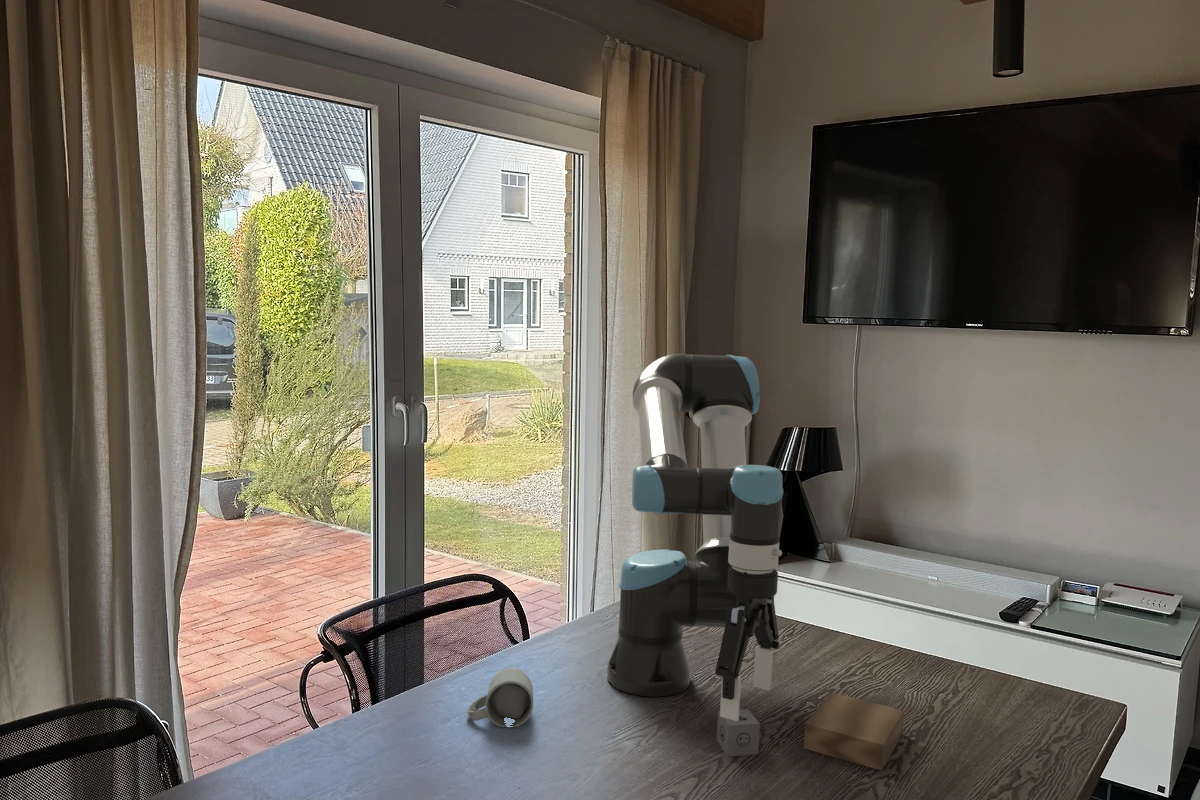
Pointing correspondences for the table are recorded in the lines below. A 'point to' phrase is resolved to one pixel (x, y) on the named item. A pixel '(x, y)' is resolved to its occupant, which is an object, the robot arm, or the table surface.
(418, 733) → the table surface
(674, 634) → the robot arm
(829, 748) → the brown flat block
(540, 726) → the table surface
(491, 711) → the ceramic mug
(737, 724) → the dice cube
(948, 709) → the table surface
